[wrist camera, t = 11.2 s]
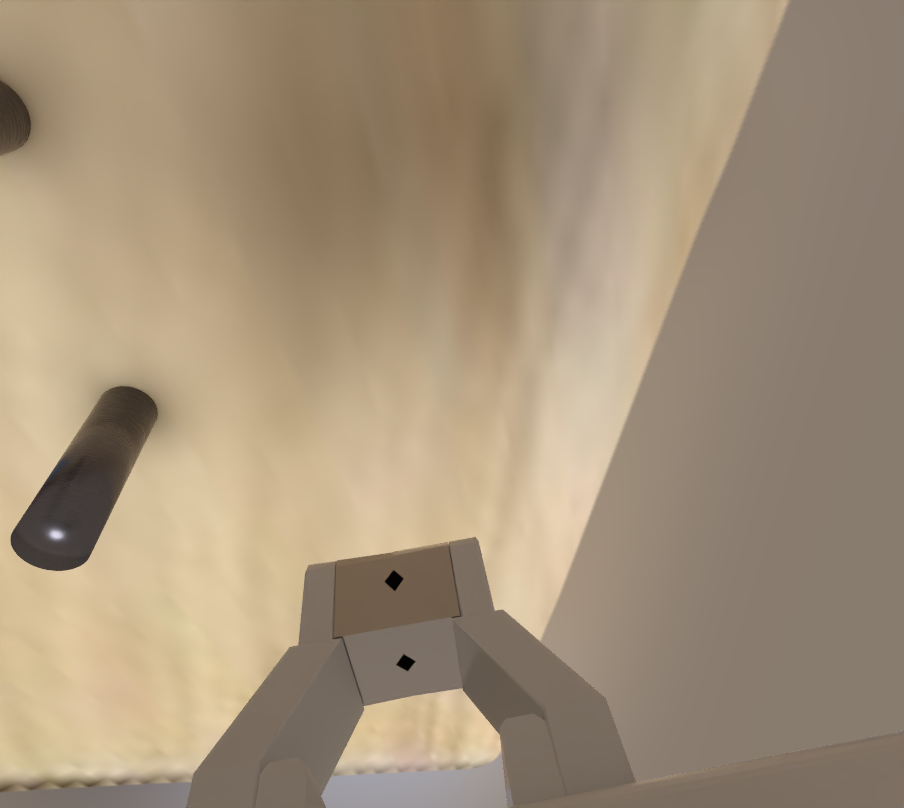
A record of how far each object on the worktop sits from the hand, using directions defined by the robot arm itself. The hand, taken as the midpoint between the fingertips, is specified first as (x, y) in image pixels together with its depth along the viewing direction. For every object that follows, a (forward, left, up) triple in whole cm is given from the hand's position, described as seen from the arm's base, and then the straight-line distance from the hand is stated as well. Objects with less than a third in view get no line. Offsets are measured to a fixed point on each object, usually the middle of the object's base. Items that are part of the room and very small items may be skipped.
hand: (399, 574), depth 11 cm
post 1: (+6, -13, -19) cm, 24 cm away
